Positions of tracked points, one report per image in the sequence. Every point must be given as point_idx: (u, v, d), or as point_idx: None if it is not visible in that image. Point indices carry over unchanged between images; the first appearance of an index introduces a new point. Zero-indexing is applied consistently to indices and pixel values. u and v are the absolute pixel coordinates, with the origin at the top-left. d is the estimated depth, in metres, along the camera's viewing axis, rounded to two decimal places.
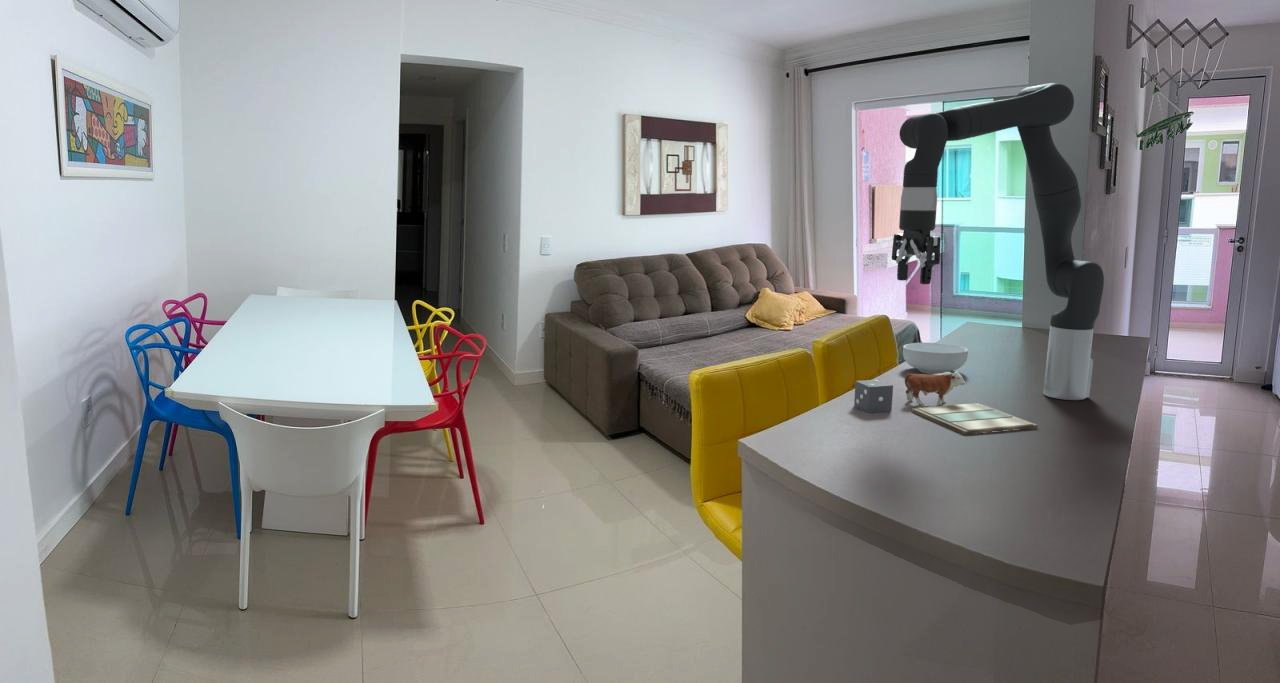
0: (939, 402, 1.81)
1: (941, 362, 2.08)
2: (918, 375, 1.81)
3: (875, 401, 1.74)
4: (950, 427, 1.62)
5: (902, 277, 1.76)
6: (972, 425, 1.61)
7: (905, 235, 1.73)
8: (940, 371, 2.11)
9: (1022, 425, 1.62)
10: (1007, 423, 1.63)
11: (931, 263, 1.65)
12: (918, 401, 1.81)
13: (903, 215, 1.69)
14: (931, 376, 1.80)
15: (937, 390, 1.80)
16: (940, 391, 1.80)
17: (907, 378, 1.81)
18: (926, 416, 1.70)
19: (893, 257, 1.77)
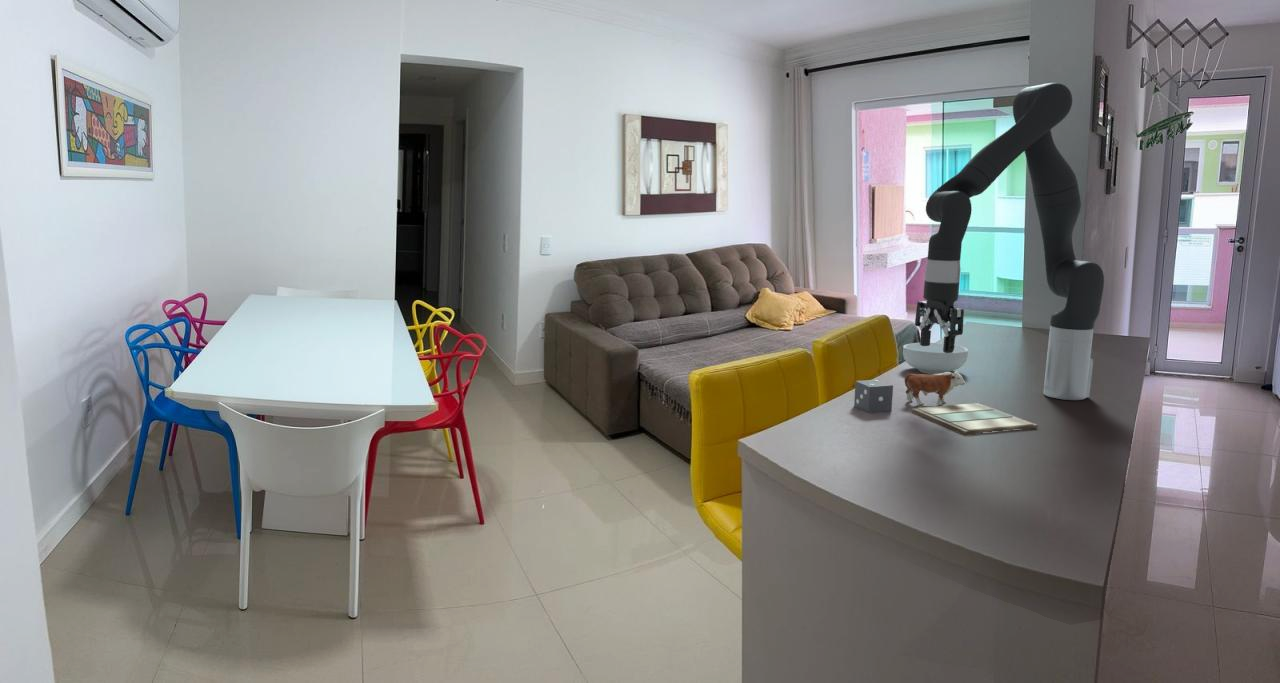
0: (939, 402, 1.81)
1: (941, 362, 2.08)
2: (918, 375, 1.81)
3: (875, 401, 1.74)
4: (950, 427, 1.62)
5: (925, 343, 1.83)
6: (972, 425, 1.61)
7: (929, 304, 1.80)
8: (940, 371, 2.11)
9: (1022, 425, 1.62)
10: (1007, 423, 1.63)
11: (954, 334, 1.72)
12: (918, 401, 1.81)
13: (928, 286, 1.76)
14: (931, 376, 1.80)
15: (937, 390, 1.80)
16: (940, 391, 1.80)
17: (907, 378, 1.81)
18: (926, 416, 1.70)
19: (916, 323, 1.85)
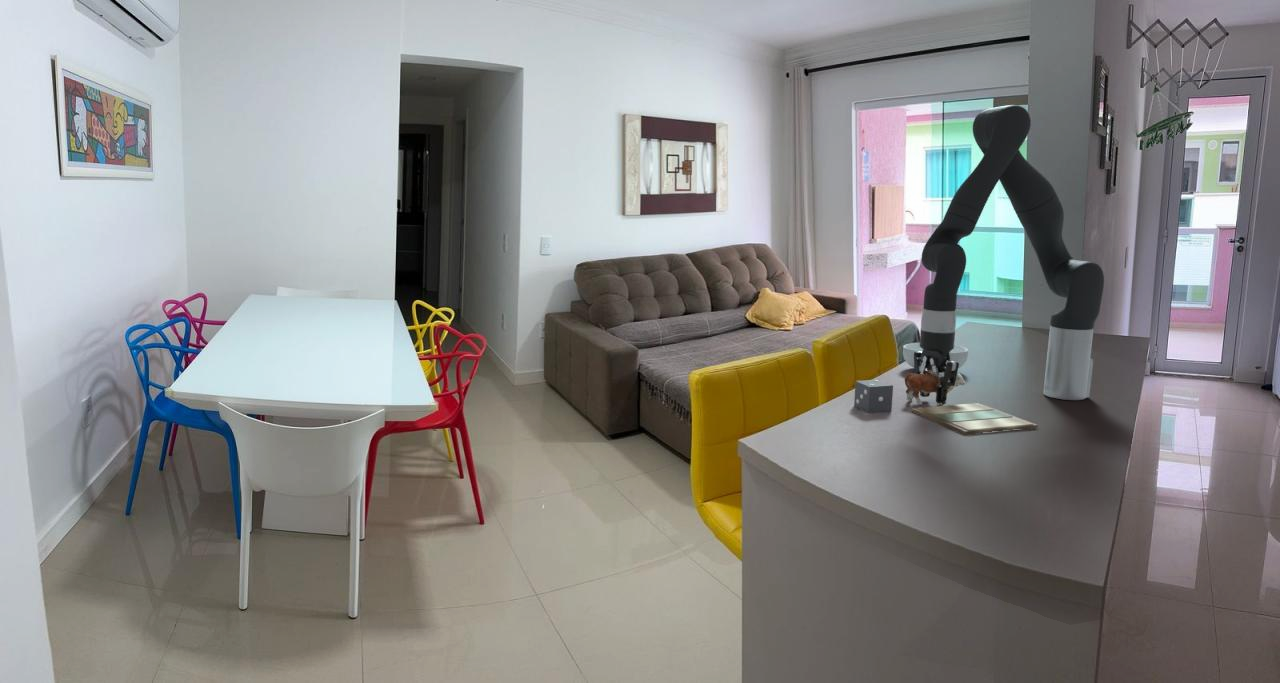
0: None
1: None
2: (918, 375, 1.81)
3: (875, 401, 1.74)
4: (950, 427, 1.62)
5: None
6: (972, 425, 1.61)
7: (925, 351, 1.82)
8: None
9: (1022, 425, 1.62)
10: (1007, 423, 1.63)
11: (947, 385, 1.76)
12: (918, 401, 1.81)
13: (924, 335, 1.78)
14: (931, 376, 1.80)
15: None
16: None
17: (907, 378, 1.81)
18: (926, 416, 1.70)
19: None
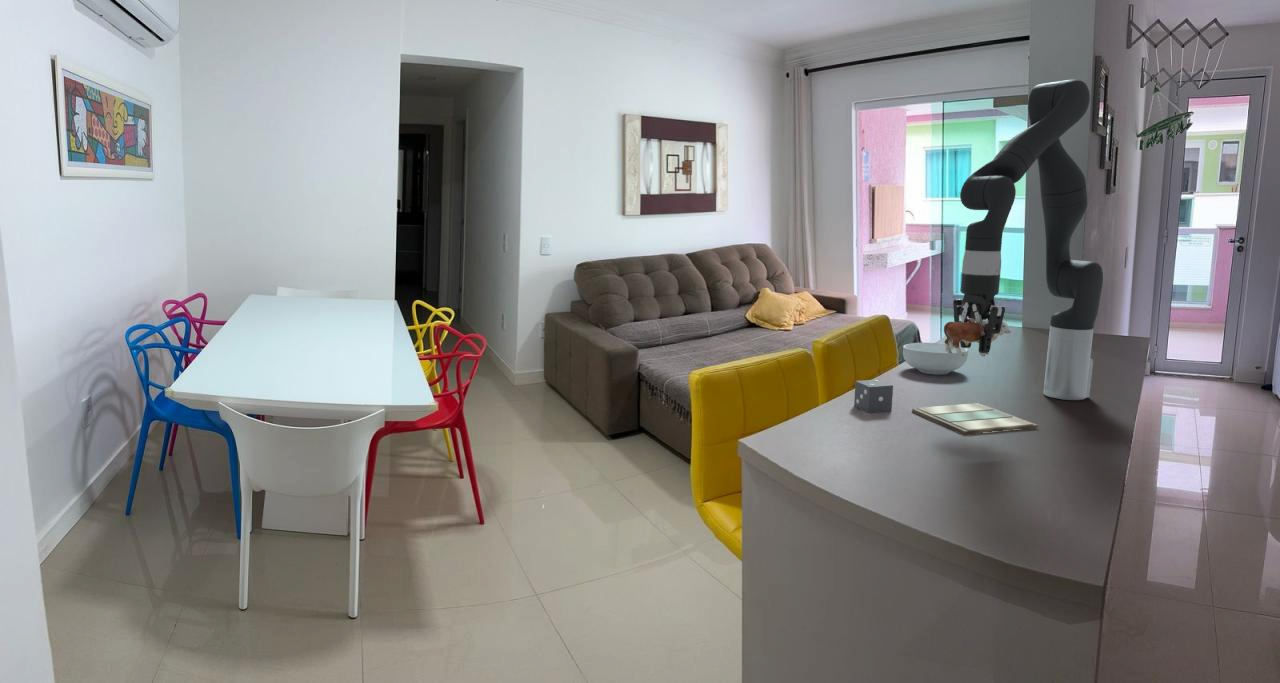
0: None
1: (941, 362, 2.08)
2: (959, 323, 1.66)
3: (875, 401, 1.74)
4: (950, 427, 1.62)
5: None
6: (972, 425, 1.61)
7: (966, 297, 1.67)
8: (940, 371, 2.11)
9: (1022, 425, 1.62)
10: (1007, 423, 1.63)
11: (991, 333, 1.61)
12: (958, 351, 1.66)
13: (965, 279, 1.63)
14: (973, 324, 1.65)
15: None
16: None
17: (947, 326, 1.66)
18: (926, 416, 1.70)
19: None
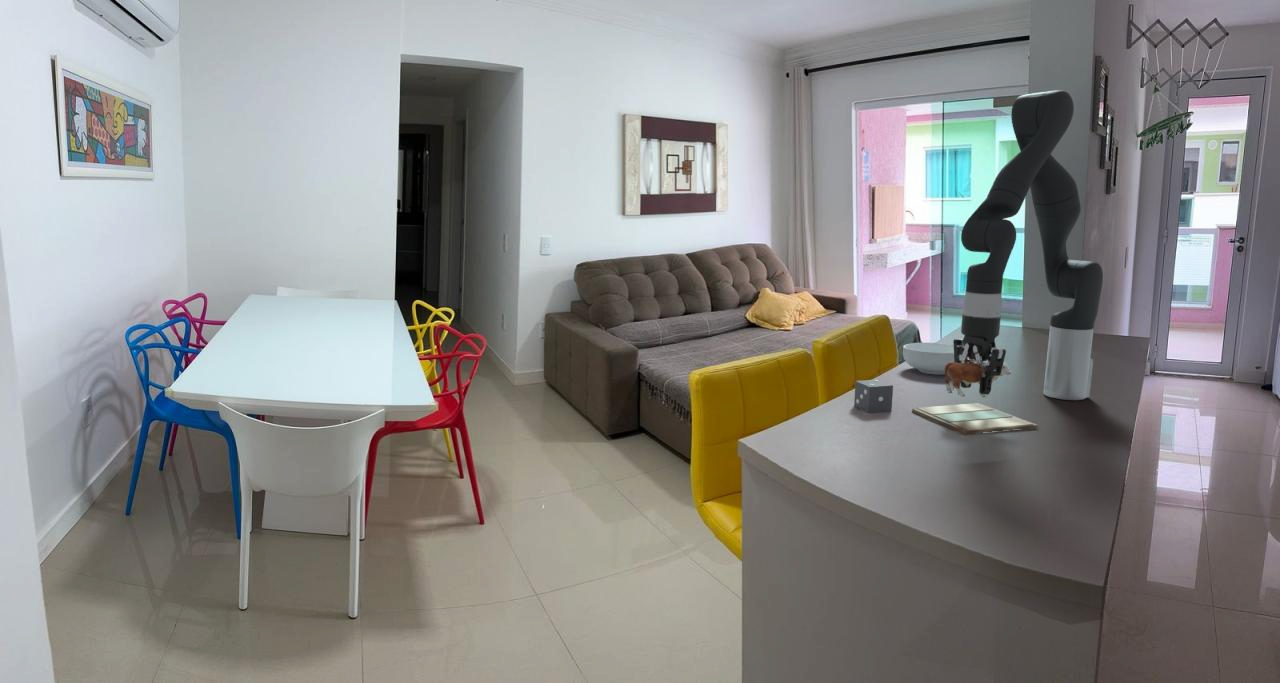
0: None
1: (941, 362, 2.08)
2: (959, 364, 1.67)
3: (875, 401, 1.74)
4: (950, 427, 1.62)
5: None
6: (972, 425, 1.61)
7: (966, 338, 1.68)
8: (940, 371, 2.11)
9: (1022, 425, 1.62)
10: (1007, 423, 1.63)
11: (992, 375, 1.61)
12: (959, 392, 1.67)
13: (966, 321, 1.64)
14: (974, 365, 1.66)
15: None
16: None
17: (947, 367, 1.67)
18: (926, 416, 1.70)
19: None
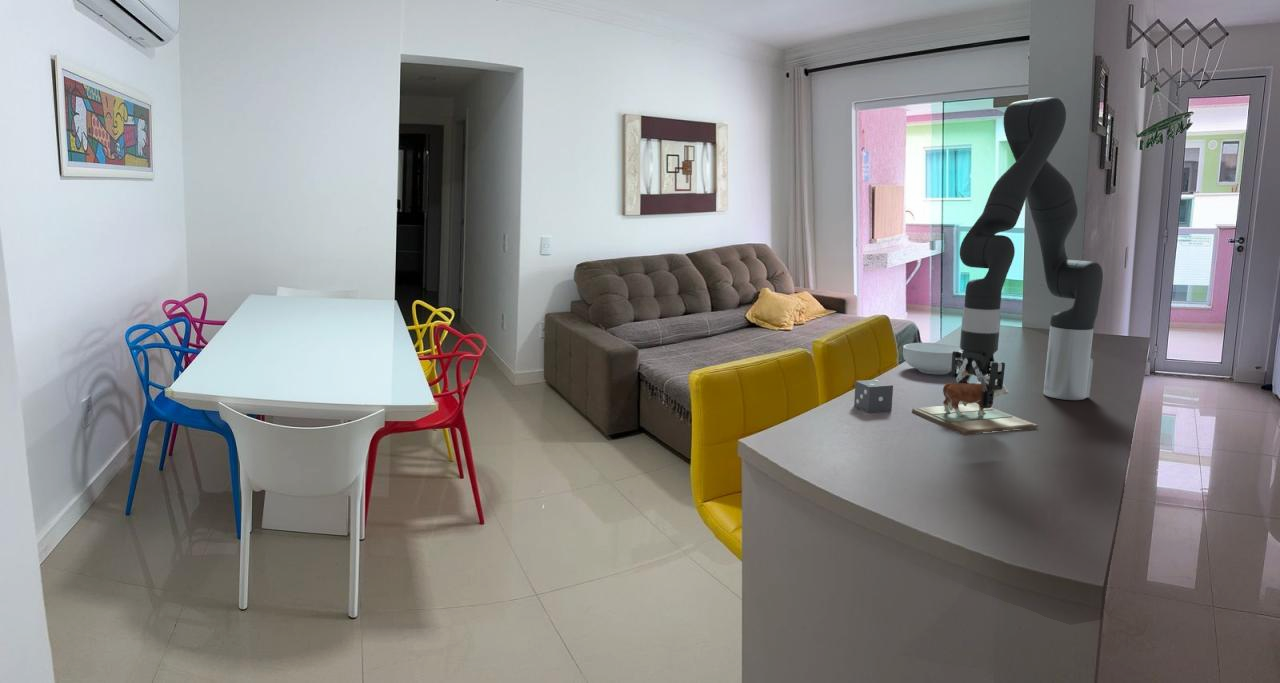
0: (980, 413, 1.68)
1: (941, 362, 2.08)
2: (958, 384, 1.68)
3: (875, 401, 1.74)
4: (950, 427, 1.62)
5: None
6: (972, 425, 1.61)
7: (965, 353, 1.69)
8: (940, 371, 2.11)
9: (1022, 425, 1.62)
10: (1007, 423, 1.63)
11: (994, 389, 1.61)
12: (958, 412, 1.68)
13: (965, 336, 1.64)
14: (971, 385, 1.67)
15: (978, 400, 1.67)
16: None
17: (946, 388, 1.68)
18: (926, 416, 1.70)
19: (953, 375, 1.73)
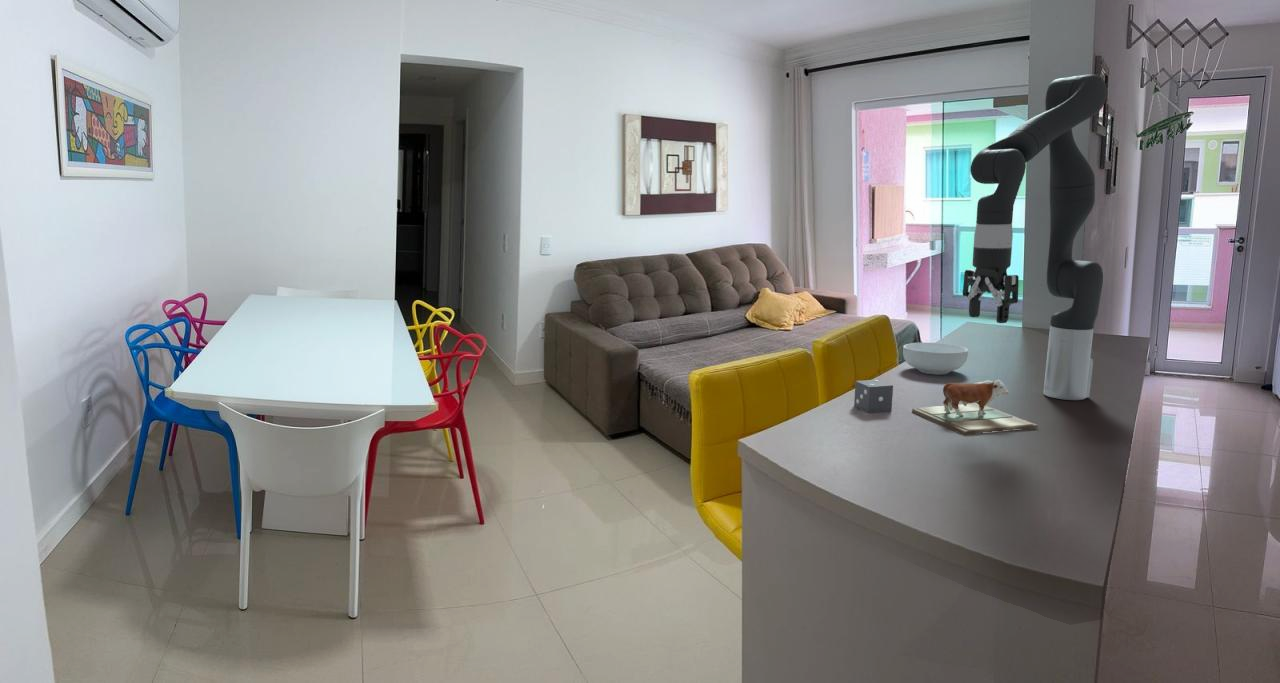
0: (980, 413, 1.68)
1: (941, 362, 2.08)
2: (958, 384, 1.68)
3: (875, 401, 1.74)
4: (950, 427, 1.62)
5: (974, 314, 1.72)
6: (972, 425, 1.61)
7: (978, 272, 1.69)
8: (940, 371, 2.11)
9: (1022, 425, 1.62)
10: (1007, 423, 1.63)
11: (1009, 302, 1.61)
12: (958, 412, 1.68)
13: (978, 253, 1.65)
14: (971, 385, 1.67)
15: (978, 400, 1.67)
16: (981, 401, 1.67)
17: (946, 388, 1.68)
18: (926, 416, 1.70)
19: (964, 293, 1.73)
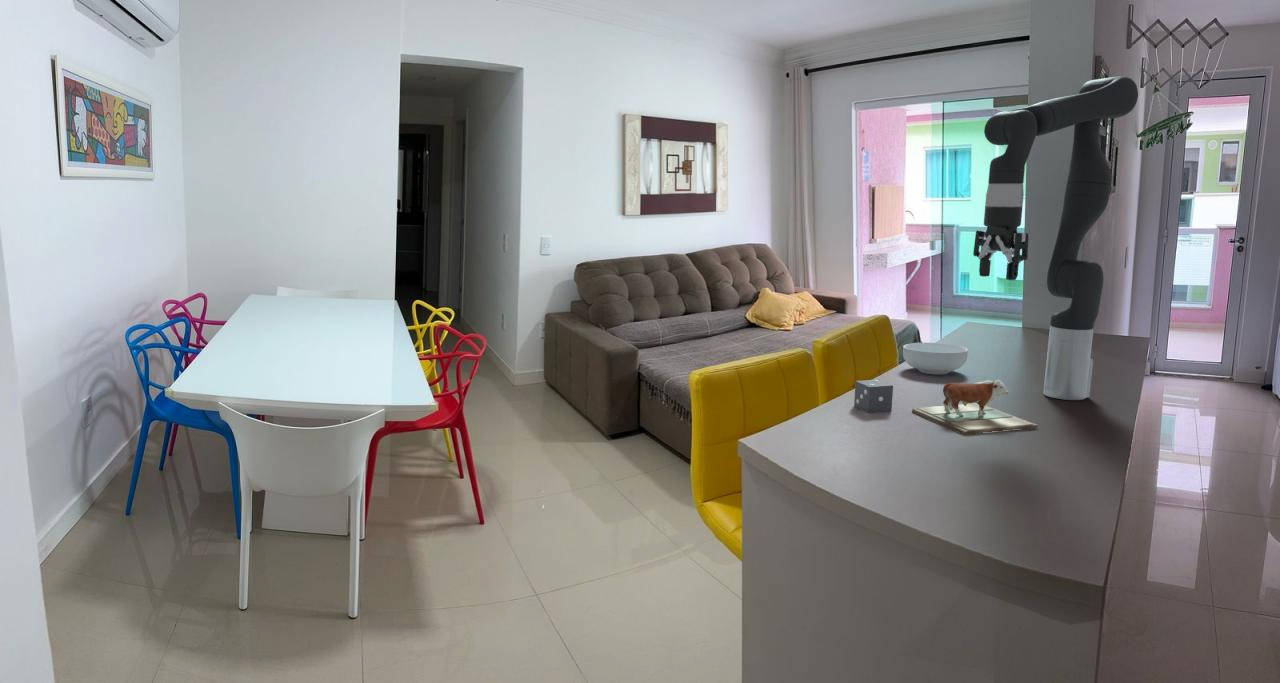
0: (980, 413, 1.68)
1: (941, 362, 2.08)
2: (958, 384, 1.68)
3: (875, 401, 1.74)
4: (950, 427, 1.62)
5: (984, 273, 1.77)
6: (972, 425, 1.61)
7: (989, 231, 1.74)
8: (940, 371, 2.11)
9: (1022, 425, 1.62)
10: (1007, 423, 1.63)
11: (1019, 259, 1.66)
12: (958, 412, 1.68)
13: (989, 211, 1.70)
14: (971, 385, 1.67)
15: (978, 400, 1.67)
16: (981, 401, 1.67)
17: (946, 388, 1.68)
18: (926, 416, 1.70)
19: (975, 253, 1.78)
